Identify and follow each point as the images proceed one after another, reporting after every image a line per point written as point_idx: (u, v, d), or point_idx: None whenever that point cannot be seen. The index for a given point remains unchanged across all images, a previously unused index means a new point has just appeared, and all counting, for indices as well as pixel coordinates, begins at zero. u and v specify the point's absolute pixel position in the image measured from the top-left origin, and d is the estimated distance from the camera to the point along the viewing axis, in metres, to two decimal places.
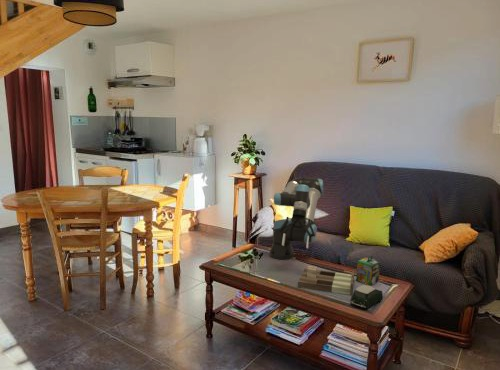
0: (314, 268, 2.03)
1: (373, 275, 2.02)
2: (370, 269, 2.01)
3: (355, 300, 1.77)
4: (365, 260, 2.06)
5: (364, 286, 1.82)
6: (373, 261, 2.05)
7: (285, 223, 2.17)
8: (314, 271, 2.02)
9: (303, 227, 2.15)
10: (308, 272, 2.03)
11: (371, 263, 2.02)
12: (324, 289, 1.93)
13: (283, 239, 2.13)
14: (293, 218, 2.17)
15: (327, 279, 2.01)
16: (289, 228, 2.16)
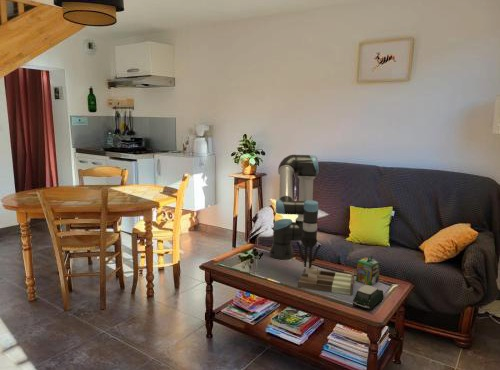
0: (315, 268, 2.03)
1: (373, 275, 2.02)
2: (370, 269, 2.01)
3: (358, 301, 1.76)
4: (365, 260, 2.06)
5: (366, 286, 1.81)
6: (373, 261, 2.05)
7: (300, 249, 2.03)
8: (315, 271, 2.01)
9: (310, 248, 2.03)
10: (309, 272, 2.02)
11: (371, 263, 2.02)
12: (324, 289, 1.93)
13: (306, 268, 2.03)
14: (303, 239, 2.02)
15: (327, 279, 2.01)
16: (307, 252, 2.04)
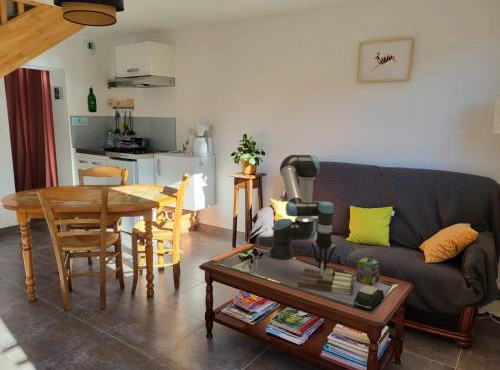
0: (330, 270, 2.01)
1: (373, 275, 2.02)
2: (370, 269, 2.01)
3: (360, 301, 1.75)
4: (365, 260, 2.06)
5: (367, 287, 1.81)
6: (373, 261, 2.05)
7: (315, 251, 2.01)
8: (330, 273, 1.99)
9: None
10: (324, 274, 2.00)
11: (371, 263, 2.02)
12: (324, 289, 1.93)
13: (321, 270, 2.01)
14: (317, 241, 2.00)
15: None
16: (321, 253, 2.01)
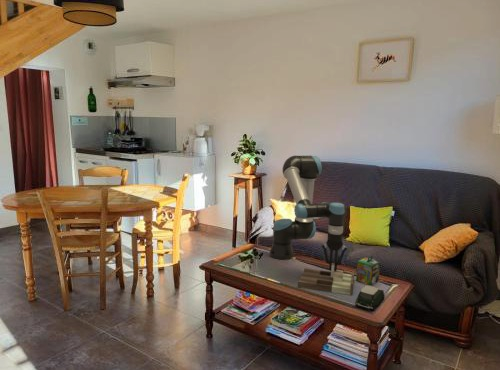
0: (340, 272, 1.99)
1: (373, 275, 2.02)
2: (370, 269, 2.01)
3: (361, 302, 1.75)
4: (365, 260, 2.06)
5: (368, 287, 1.81)
6: (373, 261, 2.05)
7: (326, 252, 1.99)
8: (341, 275, 1.97)
9: (335, 251, 1.99)
10: (334, 276, 1.98)
11: (371, 263, 2.02)
12: (324, 289, 1.93)
13: (332, 271, 2.00)
14: (328, 242, 1.98)
15: (327, 279, 2.01)
16: (332, 255, 2.00)
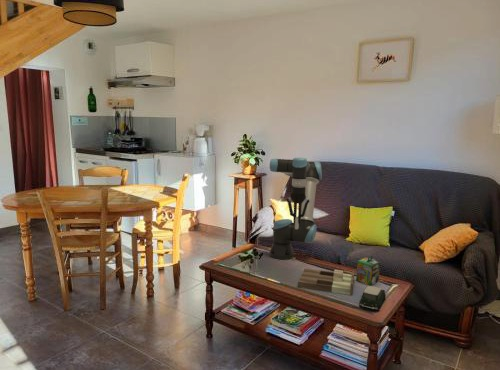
0: (340, 272, 1.99)
1: (373, 275, 2.02)
2: (370, 269, 2.01)
3: (366, 303, 1.74)
4: (365, 260, 2.06)
5: (370, 287, 1.80)
6: (373, 261, 2.05)
7: (290, 205, 2.08)
8: (341, 275, 1.97)
9: (299, 204, 2.08)
10: (334, 276, 1.98)
11: (371, 263, 2.02)
12: (324, 289, 1.93)
13: (296, 223, 2.09)
14: (292, 195, 2.08)
15: (327, 279, 2.01)
16: (296, 208, 2.09)
